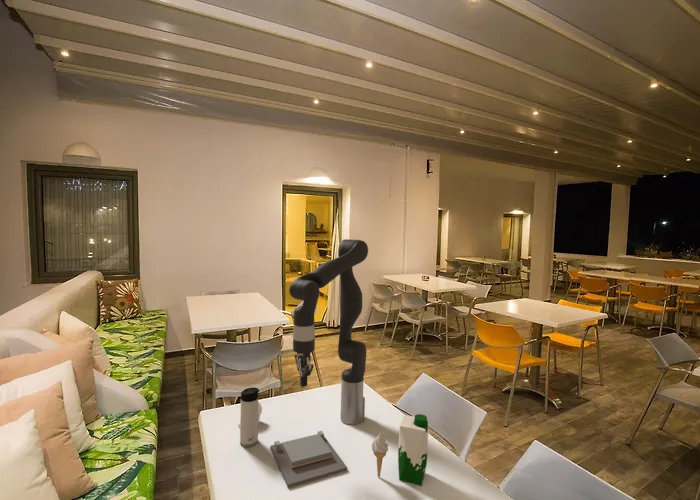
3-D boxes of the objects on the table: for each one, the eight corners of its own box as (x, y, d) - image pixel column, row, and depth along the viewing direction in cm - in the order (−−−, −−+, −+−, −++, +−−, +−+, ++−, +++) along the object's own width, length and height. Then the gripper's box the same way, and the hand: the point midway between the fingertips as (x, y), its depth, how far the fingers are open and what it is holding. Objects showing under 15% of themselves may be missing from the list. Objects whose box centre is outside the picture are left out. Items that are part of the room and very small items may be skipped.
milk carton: (424, 488, 112) (426, 425, 111) (395, 481, 115) (397, 419, 114) (427, 471, 121) (430, 412, 120) (400, 464, 124) (402, 407, 123)
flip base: (322, 436, 140) (322, 427, 139) (347, 470, 120) (347, 460, 120) (270, 448, 131) (270, 439, 131) (288, 488, 111) (288, 477, 111)
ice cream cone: (369, 471, 120) (370, 427, 119) (386, 471, 120) (387, 426, 119) (371, 483, 114) (373, 436, 113) (389, 482, 115) (390, 436, 114)
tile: (318, 433, 134) (331, 451, 124) (318, 439, 135) (331, 457, 124) (281, 442, 128) (291, 462, 117) (281, 448, 128) (291, 468, 118)
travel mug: (253, 448, 131) (254, 394, 130) (236, 446, 132) (237, 392, 131) (261, 439, 137) (262, 386, 136) (245, 436, 138) (245, 384, 137)
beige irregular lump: (263, 399, 150) (246, 415, 139) (264, 418, 151) (247, 436, 140) (249, 396, 152) (232, 413, 140) (250, 415, 153) (233, 433, 142)
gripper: (321, 341, 122) (320, 391, 124) (307, 330, 134) (306, 376, 135) (300, 344, 119) (299, 395, 120) (287, 333, 131) (287, 380, 132)
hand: (303, 385), depth 128 cm, fingers closed
